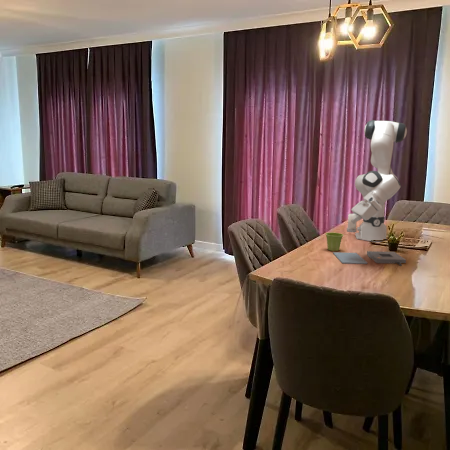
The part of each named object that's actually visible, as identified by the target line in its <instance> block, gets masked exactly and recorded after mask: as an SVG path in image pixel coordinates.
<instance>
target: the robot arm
mask: <svg viewBox="0 0 450 450" xmlns="http://www.w3.org/2000/svg"><path fill="white" fill-rule="evenodd" d="M407 133H408V130H407V126H406V124H405V123H402V122H395V121H391V120H374V119H373V120H372V119H371V120H369V121H367V122H366V124H365V126H364V129H363V134H364V137H365V138H366V139H367V140H370V151H371V156H370V164H371V165H372V167H374V168H375V169H377V170H369V171H367V172H366V173H364V174H359V175H358V176H357V177H356V178H355V181H354V186H355V188H356V190H357V191H358V192H359V193H360V194H361V196H362V199H363V200H360V201H359V202H358V203H357V204H355V205H354V206H352V208H351V212H352V214H357V217H356V218H354V219H352V220H351V222H352V223H353V224H355V223H356V224H357V222H358V221H361V220H362V223H360V225H359V226H356V229H357V230H356V231H358V232H354V233H355V234H354V235H355V238H356V240H363V241H368V242H372V241H371V240H383V239H386V237H387V225H386V224H385V220H386V219H385V218H386V217H385V208H386V205H385V203H386V202H387V201H388V200H390V199H391V198H393V196H394V195H396V194H397V192H398V191H399V190H400V188H401V187H402V185H401V183H400V181H399V178H398V177H397V175H396V174H395V173H394V172H393V170H392V157H393V152H394V143H395V144H397V143H401V142H403V141H404V139H405V138H406V136H407Z"/></svg>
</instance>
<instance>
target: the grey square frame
mask: <svg viewBox="0 0 450 450" xmlns="http://www.w3.org/2000/svg"><path fill="white" fill-rule="evenodd" d="M367 255H368V257H369V258H370V259H371V260H372V259H373V260H374V261H373V260H372V261H373V262H375V263H376V264H396V263H397V264H396V265H398V264H399V265H398V266H399V267H403V264H401V263H407V259H406V258H404V257H403V256H401V254H398V253H397V252H395V251H380V250H379V251H372V250H369V251H366V256H367Z"/></svg>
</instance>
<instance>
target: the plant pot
mask: <svg viewBox="0 0 450 450" xmlns="http://www.w3.org/2000/svg"><path fill="white" fill-rule="evenodd" d="M325 236H326V244H327V245H326V246H327V251H329V252H337V251H340V249H341V248H340V247H341V242H342V239H343V237H344V234H343V233H339V232H334V231H333V232H332V231H331V232H326V233H325Z"/></svg>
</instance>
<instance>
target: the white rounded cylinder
mask: <svg viewBox="0 0 450 450" xmlns="http://www.w3.org/2000/svg"><path fill="white" fill-rule="evenodd" d="M347 217H348V218H347V228H346V232H347V233H357V231H358V230H357V222H356V223H355V224H353V223H352V222H351V220H352V219H354V218H356V217H357V214H353V213H348V215H347Z"/></svg>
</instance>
